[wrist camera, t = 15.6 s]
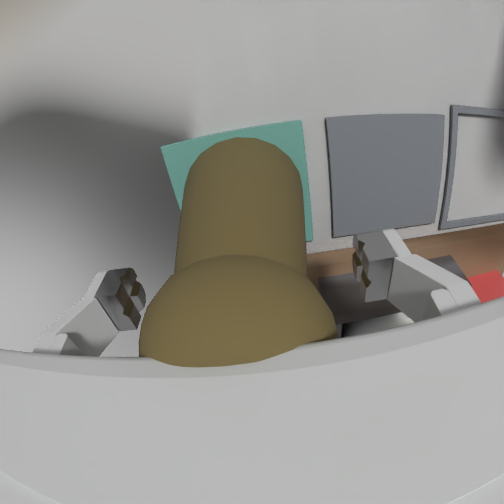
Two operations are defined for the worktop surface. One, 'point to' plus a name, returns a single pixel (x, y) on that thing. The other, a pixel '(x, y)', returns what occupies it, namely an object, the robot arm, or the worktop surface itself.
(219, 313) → the cork
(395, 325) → the dome
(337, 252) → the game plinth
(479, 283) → the red die
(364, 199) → the flat grey zoned board
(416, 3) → the worktop surface
